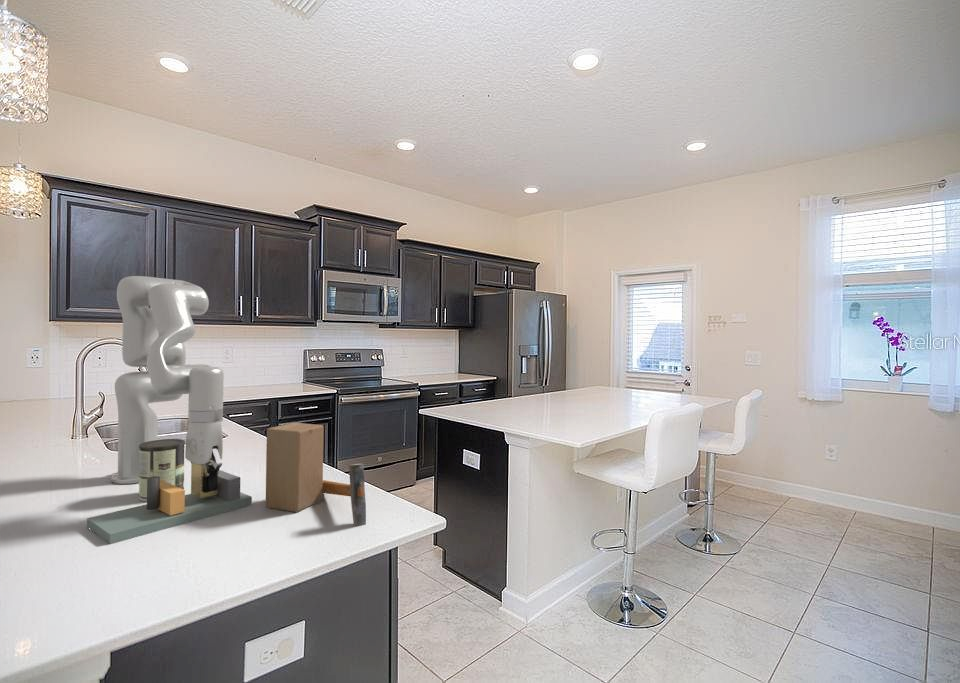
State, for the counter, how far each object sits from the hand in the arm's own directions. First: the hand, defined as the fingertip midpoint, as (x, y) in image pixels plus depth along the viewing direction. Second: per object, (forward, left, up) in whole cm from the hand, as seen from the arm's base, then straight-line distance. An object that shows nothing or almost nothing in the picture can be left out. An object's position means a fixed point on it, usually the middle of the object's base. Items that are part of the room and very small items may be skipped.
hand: (204, 488), depth 120 cm
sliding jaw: (0, -10, -3) cm, 10 cm away
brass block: (0, 0, -2) cm, 2 cm away
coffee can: (-18, -3, -5) cm, 19 cm away
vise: (0, -7, -5) cm, 8 cm away
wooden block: (+15, +15, -5) cm, 22 cm away
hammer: (+25, +21, -5) cm, 33 cm away
